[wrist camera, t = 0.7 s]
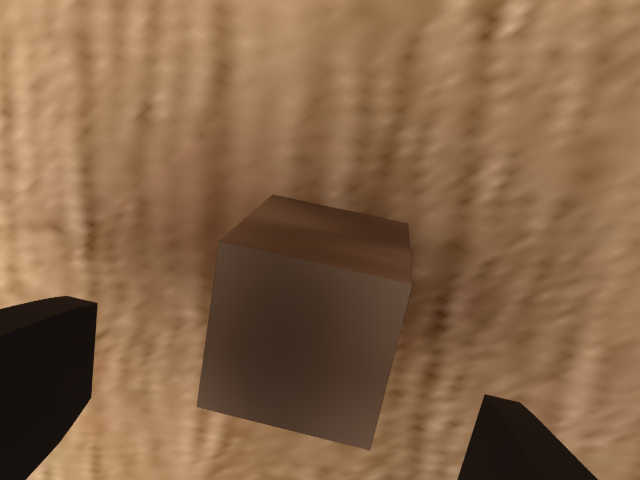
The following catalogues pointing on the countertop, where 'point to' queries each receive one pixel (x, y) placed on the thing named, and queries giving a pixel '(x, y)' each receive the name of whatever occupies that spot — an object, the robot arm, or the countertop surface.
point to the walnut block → (306, 319)
